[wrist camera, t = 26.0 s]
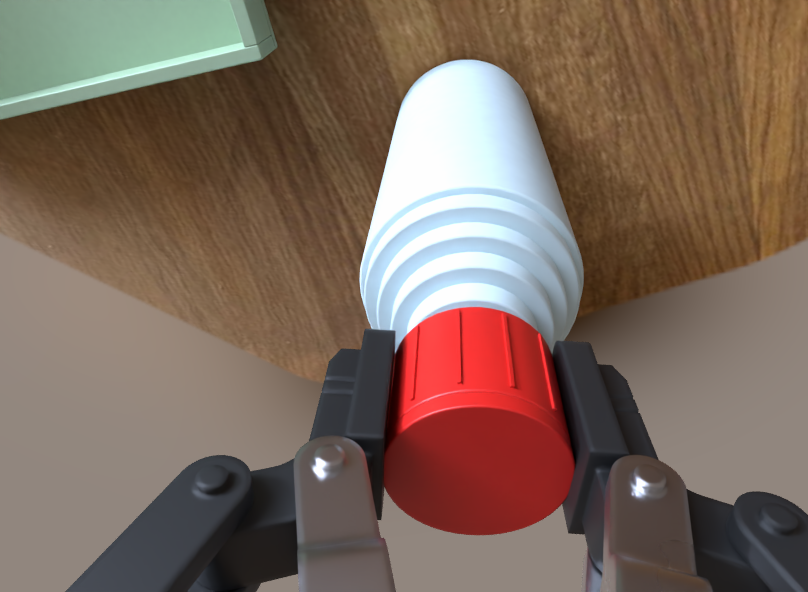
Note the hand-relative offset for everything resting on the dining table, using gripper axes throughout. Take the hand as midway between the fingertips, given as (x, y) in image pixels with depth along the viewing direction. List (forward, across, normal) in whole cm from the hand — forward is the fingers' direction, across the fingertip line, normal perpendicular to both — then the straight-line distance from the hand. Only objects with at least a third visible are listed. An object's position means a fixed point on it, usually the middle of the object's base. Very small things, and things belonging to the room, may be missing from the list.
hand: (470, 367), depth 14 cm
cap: (0, 0, 0) cm, 0 cm away
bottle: (+18, 0, 0) cm, 18 cm away
